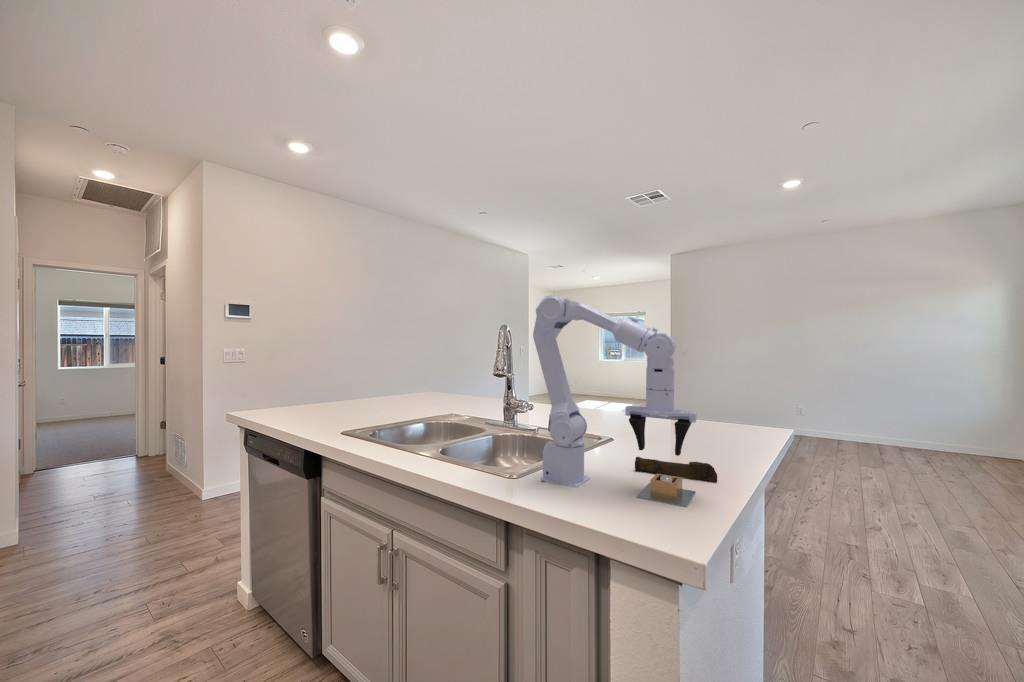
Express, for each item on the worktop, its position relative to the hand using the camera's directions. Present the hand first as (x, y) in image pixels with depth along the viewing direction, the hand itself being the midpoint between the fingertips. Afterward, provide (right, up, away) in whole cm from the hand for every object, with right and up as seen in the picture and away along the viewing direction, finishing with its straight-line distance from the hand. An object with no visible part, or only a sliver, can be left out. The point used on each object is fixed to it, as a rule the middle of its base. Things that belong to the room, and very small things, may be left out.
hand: (659, 451), depth 93 cm
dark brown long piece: (+8, -10, +13) cm, 18 cm away
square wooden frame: (+1, -9, -1) cm, 9 cm away
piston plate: (+1, -9, -1) cm, 9 cm away
